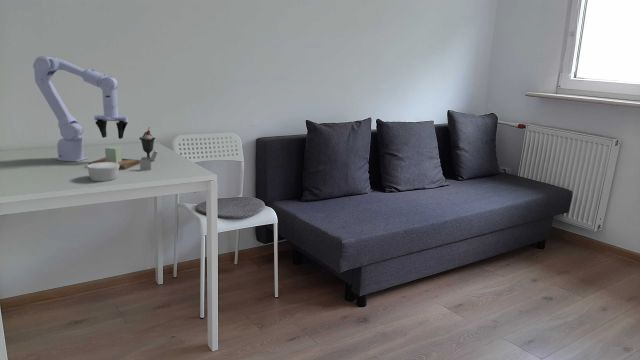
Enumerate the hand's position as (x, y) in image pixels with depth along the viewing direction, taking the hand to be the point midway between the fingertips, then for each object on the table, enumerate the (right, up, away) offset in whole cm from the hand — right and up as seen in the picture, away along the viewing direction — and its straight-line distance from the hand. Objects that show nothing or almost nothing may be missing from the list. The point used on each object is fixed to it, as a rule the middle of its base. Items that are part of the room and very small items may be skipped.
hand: (112, 137), depth 216 cm
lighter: (+20, -14, -11) cm, 27 cm away
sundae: (+14, -10, +4) cm, 18 cm away
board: (+3, -12, -6) cm, 14 cm away
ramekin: (+8, -18, -27) cm, 33 cm away
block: (+3, -10, -7) cm, 13 cm away
